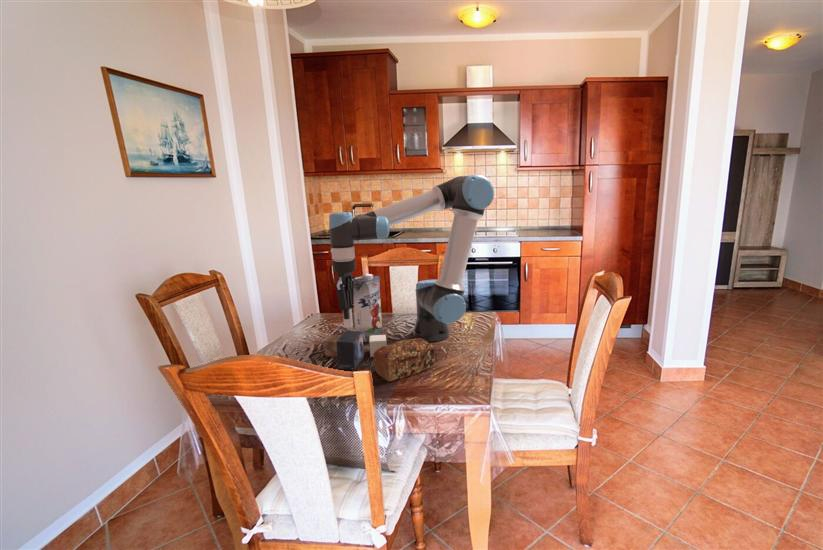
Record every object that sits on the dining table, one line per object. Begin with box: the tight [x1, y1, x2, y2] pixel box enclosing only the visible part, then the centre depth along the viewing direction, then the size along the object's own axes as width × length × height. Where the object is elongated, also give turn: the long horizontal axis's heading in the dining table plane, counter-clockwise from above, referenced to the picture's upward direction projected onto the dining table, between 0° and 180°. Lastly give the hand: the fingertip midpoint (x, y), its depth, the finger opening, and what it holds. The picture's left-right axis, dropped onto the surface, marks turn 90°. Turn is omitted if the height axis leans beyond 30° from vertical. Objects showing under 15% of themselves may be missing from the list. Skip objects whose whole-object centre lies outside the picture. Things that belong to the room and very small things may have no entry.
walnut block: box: [323, 334, 342, 358], centre depth 147 cm, size 6×6×6 cm
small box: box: [336, 330, 365, 371], centre depth 137 cm, size 11×6×10 cm, turn 168°
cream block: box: [368, 334, 388, 358], centre depth 146 cm, size 6×6×6 cm
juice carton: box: [352, 273, 383, 344], centre depth 158 cm, size 9×10×27 cm
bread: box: [373, 337, 436, 382], centre depth 131 cm, size 19×11×10 cm, turn 124°
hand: (348, 326), depth 135 cm, fingers closed
